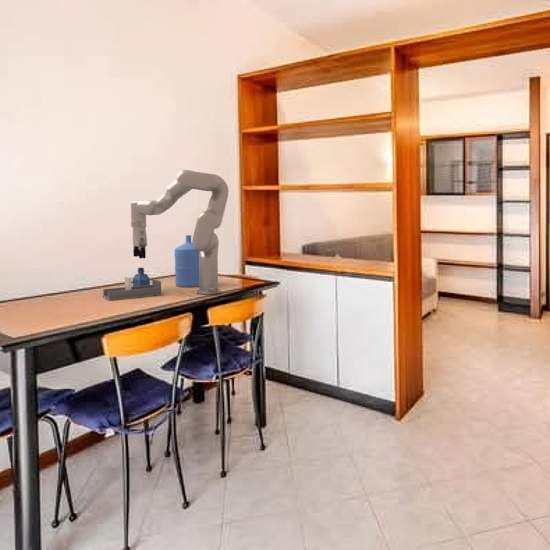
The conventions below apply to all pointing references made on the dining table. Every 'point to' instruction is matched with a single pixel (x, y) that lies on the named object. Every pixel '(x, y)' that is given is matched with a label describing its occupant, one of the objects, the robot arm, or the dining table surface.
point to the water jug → (187, 264)
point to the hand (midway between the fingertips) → (139, 257)
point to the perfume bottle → (141, 278)
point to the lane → (133, 291)
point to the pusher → (128, 282)
